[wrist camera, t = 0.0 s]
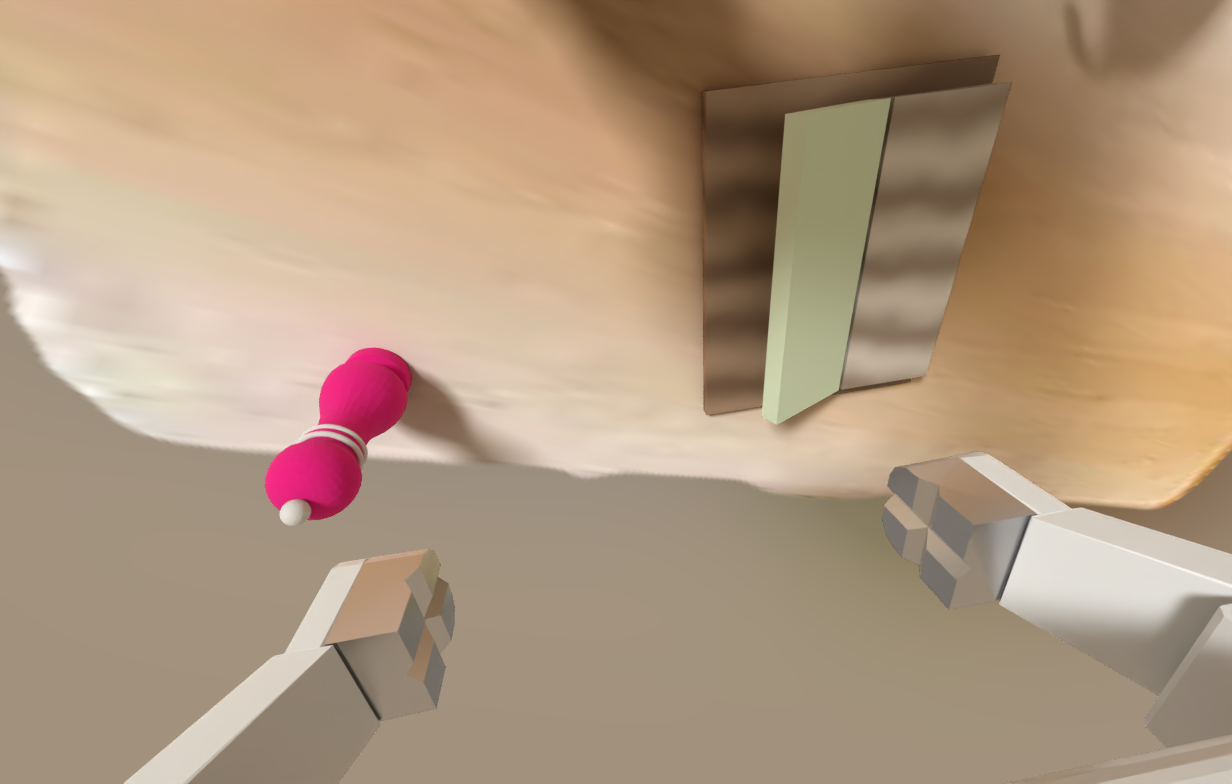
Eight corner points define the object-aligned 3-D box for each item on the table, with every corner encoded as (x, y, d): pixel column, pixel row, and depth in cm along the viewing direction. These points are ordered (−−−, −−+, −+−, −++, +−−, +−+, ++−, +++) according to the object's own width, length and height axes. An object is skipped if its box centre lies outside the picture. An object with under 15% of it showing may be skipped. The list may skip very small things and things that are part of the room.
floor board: (702, 91, 38) (714, 90, 36) (988, 56, 40) (1020, 52, 37) (703, 409, 56) (711, 425, 53) (903, 377, 57) (921, 390, 54)
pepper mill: (369, 328, 45) (265, 462, 28) (431, 374, 49) (371, 518, 32) (325, 374, 47) (203, 525, 30) (388, 415, 50) (309, 572, 34)
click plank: (785, 113, 35) (807, 113, 34) (867, 99, 39) (891, 98, 38) (761, 416, 50) (776, 425, 48) (823, 383, 54) (838, 390, 53)
